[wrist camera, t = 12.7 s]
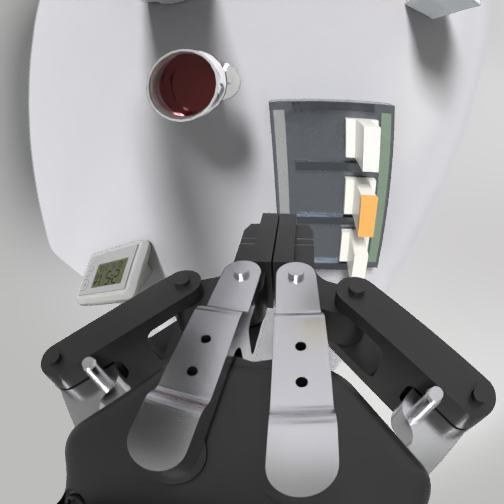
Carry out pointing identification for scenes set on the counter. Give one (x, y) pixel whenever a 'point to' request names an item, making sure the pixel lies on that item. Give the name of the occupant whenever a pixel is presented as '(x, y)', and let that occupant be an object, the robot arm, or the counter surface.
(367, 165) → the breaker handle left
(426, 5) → the skincare box
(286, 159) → the breaker panel
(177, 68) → the wineglass
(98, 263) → the digital clock
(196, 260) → the counter surface
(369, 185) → the breaker handle
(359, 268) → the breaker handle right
